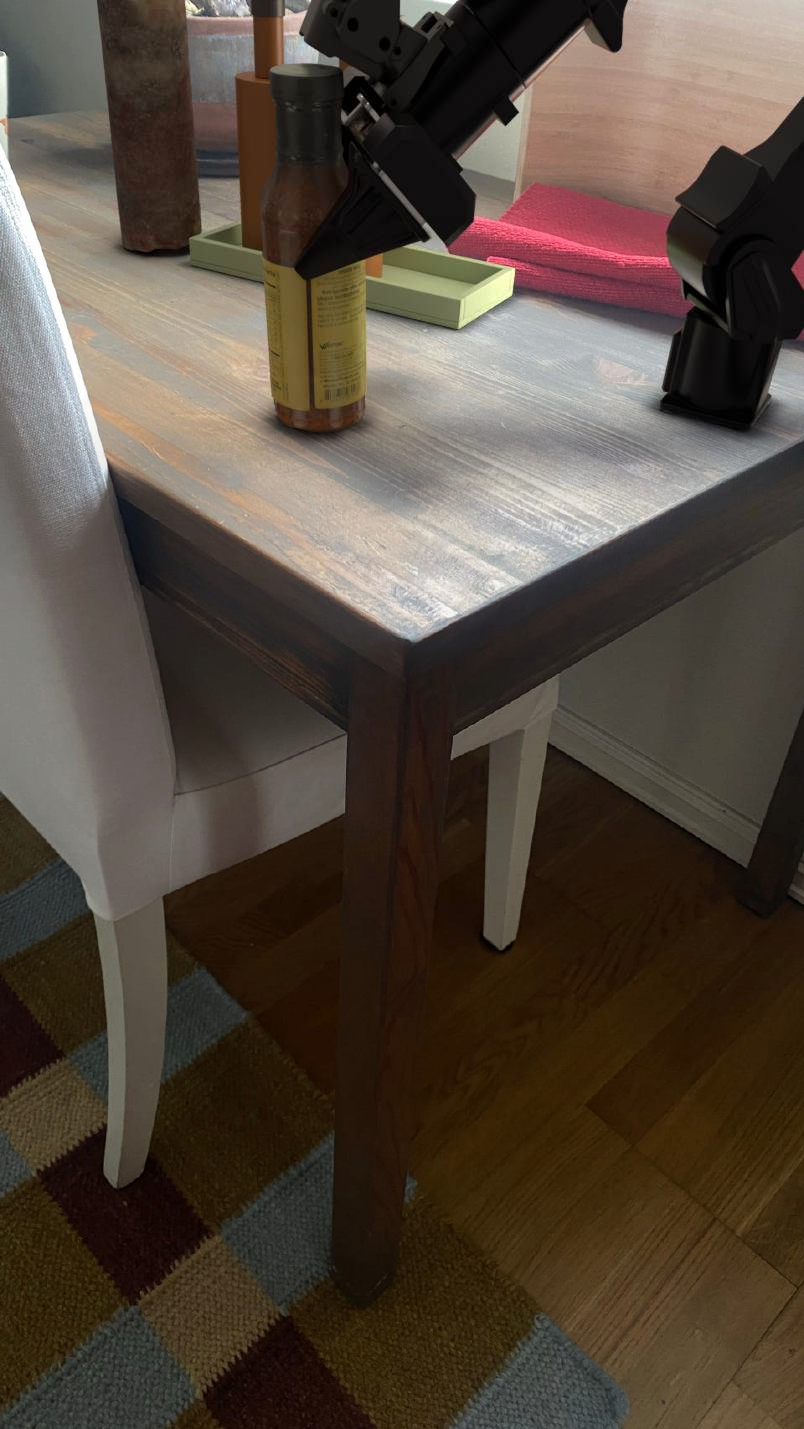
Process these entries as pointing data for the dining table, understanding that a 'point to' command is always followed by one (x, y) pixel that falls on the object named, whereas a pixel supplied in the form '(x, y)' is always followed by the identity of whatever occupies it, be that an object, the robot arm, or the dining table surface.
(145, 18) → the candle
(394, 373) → the dining table surface
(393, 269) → the bottle tray
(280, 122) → the sauce bottle
